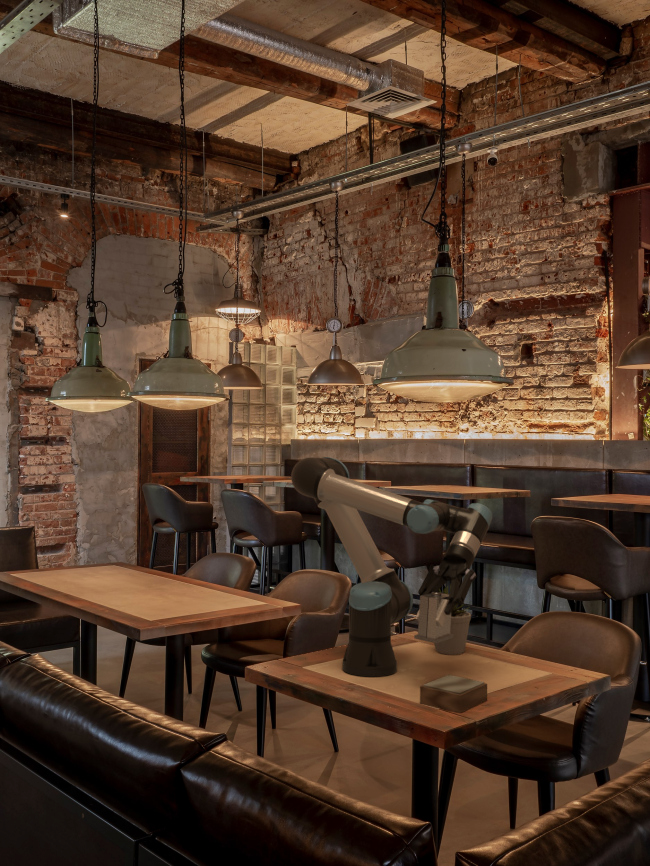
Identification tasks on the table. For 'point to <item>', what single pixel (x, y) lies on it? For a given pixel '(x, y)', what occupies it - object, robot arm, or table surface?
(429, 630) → the housing
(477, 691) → the stand
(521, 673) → the table surface
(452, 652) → the potted plant
